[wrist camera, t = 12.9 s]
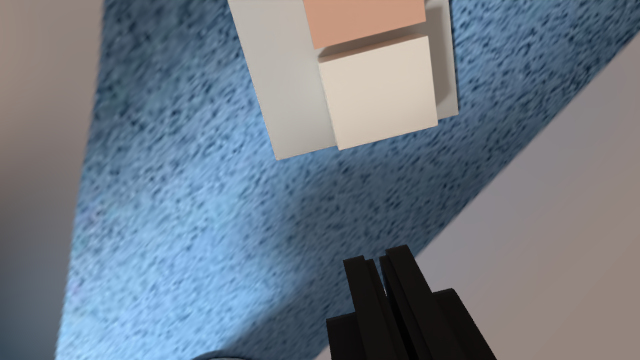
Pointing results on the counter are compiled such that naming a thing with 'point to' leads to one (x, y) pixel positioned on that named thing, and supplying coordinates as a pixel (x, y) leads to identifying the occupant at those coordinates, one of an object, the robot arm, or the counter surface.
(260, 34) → the grey mat
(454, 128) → the counter surface
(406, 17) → the salmon pink block
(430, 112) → the cream block
